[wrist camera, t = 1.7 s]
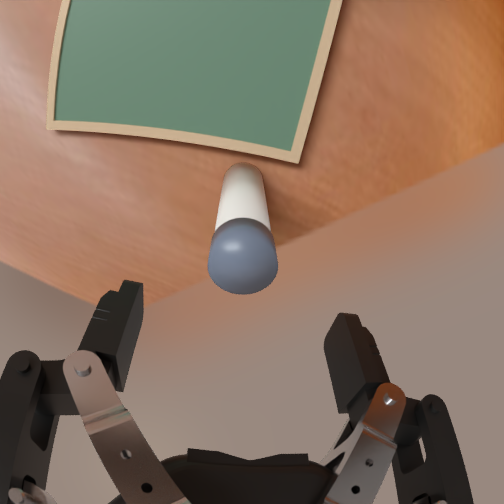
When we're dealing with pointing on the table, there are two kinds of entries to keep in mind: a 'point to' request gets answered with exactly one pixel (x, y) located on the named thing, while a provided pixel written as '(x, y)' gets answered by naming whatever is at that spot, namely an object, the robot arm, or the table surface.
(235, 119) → the slate
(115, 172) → the table surface
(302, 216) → the table surface
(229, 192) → the marker
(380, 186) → the table surface
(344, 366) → the robot arm
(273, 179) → the table surface
